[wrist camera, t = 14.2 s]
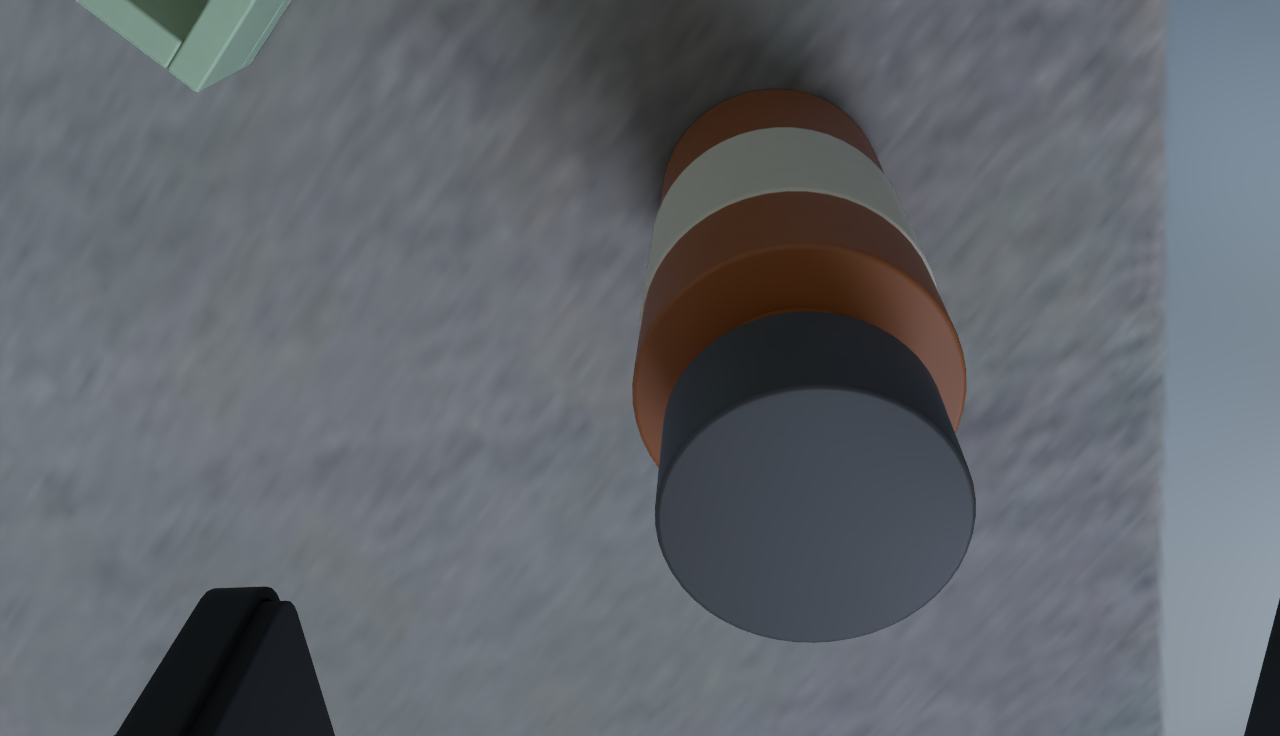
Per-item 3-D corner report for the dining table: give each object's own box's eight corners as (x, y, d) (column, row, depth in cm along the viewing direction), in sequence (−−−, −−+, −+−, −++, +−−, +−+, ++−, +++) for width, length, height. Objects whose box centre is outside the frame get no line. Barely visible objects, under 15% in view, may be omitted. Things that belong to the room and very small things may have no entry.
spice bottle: (614, 206, 23) (528, 531, 13) (766, 36, 21) (812, 252, 11) (774, 338, 25) (815, 733, 14) (931, 189, 23) (1114, 516, 12)
